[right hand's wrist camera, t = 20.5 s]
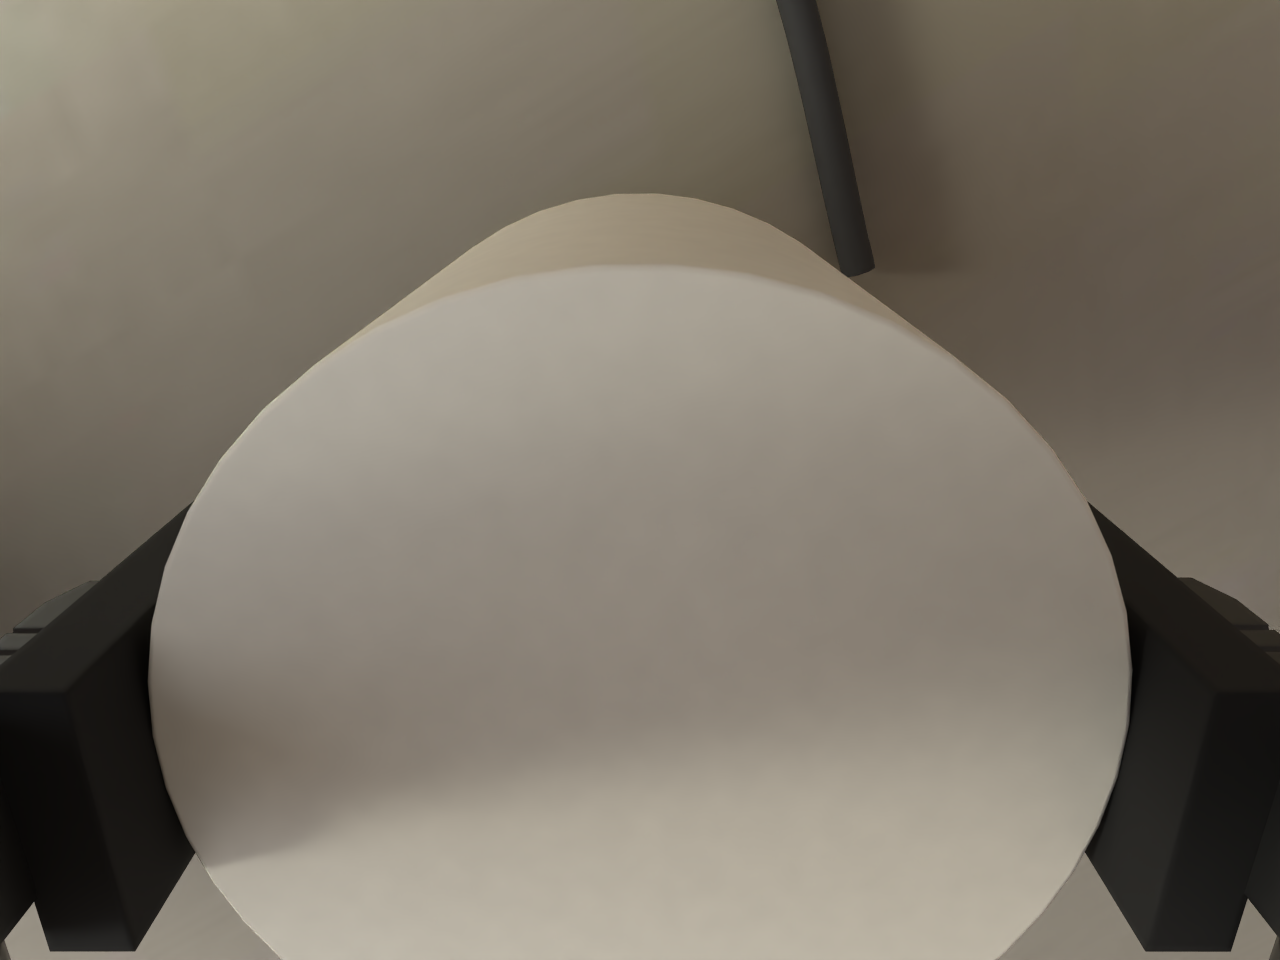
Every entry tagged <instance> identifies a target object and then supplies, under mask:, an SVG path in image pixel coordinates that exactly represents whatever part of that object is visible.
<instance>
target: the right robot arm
mask: <svg viewBox="0 0 1280 960" xmlns="http://www.w3.org/2000/svg"><path fill="white" fill-rule="evenodd" d="M776 1H777V4H778V8H779V12H780V15H781V19H782V22H783V26H784V30H785V33H786V37H787V41H788V45H789V49H790V52H791V56H792V60H793V64H794V69H795V73H796V77H797V81H798V85H799V89H800V94H801V98H802V102H803V107H804V111H805V115H806V120H807V124H808V129H809V133H810V138H811V143H812V147H813V152H814V156H815V161H816V165H817V170H818V174H819V179H820V184H821V188H822V193H823V197H824V201H825V206H826V210H827V215H828V219H829V223H830V228H831V232H832V236H833V240H834V245H835V249H836V253H837V257H838V261H839V265H840V269H841V273H842V274H844V275H845V276H846V277H851V276H856V275H860V274H863V273H866V272H868V271H870V270H872V269H874V268H875V263H874V259H873V255H872V251H871V246H870V242H869V238H868V233H867V229H866V224H865V220H864V215H863V211H862V206H861V202H860V197H859V192H858V188H857V183H856V178H855V173H854V168H853V164H852V159H851V154H850V149H849V144H848V139H847V134H846V130H845V125H844V120H843V115H842V110H841V106H840V101H839V96H838V92H837V87H836V82H835V78H834V73H833V69H832V64H831V60H830V56H829V52H828V47H827V43H826V39H825V35H824V31H823V27H822V23H821V19H820V15H819V11H818V7H817V3H816V0H776ZM194 501H195V500H194ZM194 501H193V502H194ZM193 502H192V503H191V504H190V505H189V506H187V507H186V508H185V509H184V510H183V511H181V512H180V513H179V514H178V515H177V516H176V517H174V518H173V519H172V520H171V521H170V522H168V523H167V524H166V525H165V526H164V527H163V528H161V529H160V530H159V531H158V532H157V533H155V534H154V535H153V536H152V537H151V538H150V539H148V540H147V541H146V542H145V543H144V544H142V545H141V546H140V547H139V548H138V549H137V550H135V551H134V552H133V553H132V554H131V555H130V556H128V557H127V558H126V559H125V560H124V561H122V562H121V563H120V564H119V565H118V566H117V567H115V568H114V569H113V570H112V571H111V572H109V573H108V574H107V575H106V576H105V577H104V578H102V579H101V580H100V581H89V582H87V583H85V584H82V585H80V586H78V587H76V588H74V589H72V590H70V591H68V592H66V593H64V594H62V595H60V596H58V597H56V598H54V599H52V600H50V601H47V602H45V603H44V604H43V605H42V606H40V607H39V608H38V609H37V610H35V611H34V612H33V613H32V614H30V615H29V616H28V617H27V618H25V619H24V620H23V621H22V622H20V623H19V624H18V625H17V626H15V627H14V628H13V633H7V634H6V635H4V636H3V637H2V638H1V639H0V960H11V959H10V956H9V953H8V950H7V947H6V944H5V941H4V939H5V938H6V937H7V936H8V934H9V933H10V932H11V930H12V929H13V928H14V927H15V925H16V924H17V923H18V921H19V920H20V919H21V918H22V916H23V915H24V914H25V912H26V911H27V910H28V909H29V907H30V906H31V905H32V903H33V902H35V906H36V909H37V912H38V915H39V918H40V921H41V924H42V928H43V931H44V934H45V937H46V940H47V943H48V946H49V950H50V951H136V949H137V947H138V946H139V944H140V942H141V941H142V939H143V937H144V936H145V934H146V933H147V931H148V929H149V928H150V926H151V924H152V923H153V921H154V919H155V918H156V916H157V915H158V913H159V911H160V910H161V908H162V906H163V905H164V903H165V901H166V900H167V898H168V896H169V895H170V893H171V892H172V890H173V888H174V887H175V885H176V883H177V882H178V880H179V878H180V877H181V875H182V874H183V872H184V870H185V869H186V867H187V865H188V864H189V862H190V860H191V859H192V857H193V855H194V854H195V851H194V849H193V847H192V845H191V844H190V842H189V840H188V839H187V837H186V835H185V833H184V830H183V828H182V825H181V823H180V821H179V818H178V816H177V813H176V811H175V808H174V806H173V804H172V801H171V799H170V796H169V794H168V792H167V789H166V786H165V783H164V779H163V775H162V771H161V767H160V763H159V759H158V755H157V751H156V747H155V743H154V739H153V733H152V723H151V712H150V701H149V690H148V670H149V655H150V640H151V626H152V620H153V616H154V612H155V607H156V603H157V599H158V594H159V590H160V586H161V581H162V577H163V573H164V569H165V565H166V563H167V561H168V558H169V556H170V553H171V551H172V549H173V546H174V544H175V541H176V539H177V536H178V534H179V532H180V529H181V527H182V524H183V522H184V519H185V517H186V515H187V512H188V510H189V509H190V507H191V506H192V504H193ZM1088 505H1089V507H1090V509H1091V511H1092V513H1093V516H1094V518H1095V520H1096V522H1097V524H1098V527H1099V529H1100V531H1101V533H1102V536H1103V538H1104V540H1105V542H1106V544H1107V547H1108V549H1109V551H1110V553H1111V555H1112V559H1113V563H1114V567H1115V570H1116V574H1117V578H1118V582H1119V585H1120V589H1121V593H1122V597H1123V600H1124V604H1125V608H1126V612H1127V621H1128V631H1129V641H1130V651H1131V661H1132V685H1131V702H1130V718H1129V727H1128V732H1127V736H1126V741H1125V746H1124V750H1123V755H1122V759H1121V764H1120V768H1119V773H1118V777H1117V780H1116V782H1115V785H1114V788H1113V790H1112V793H1111V796H1110V798H1109V801H1108V803H1107V806H1106V809H1105V811H1104V814H1103V817H1102V819H1101V822H1100V824H1099V827H1098V829H1097V830H1096V832H1095V834H1094V836H1093V838H1092V839H1091V841H1090V843H1089V845H1088V847H1087V848H1086V850H1085V853H1086V855H1087V856H1088V858H1089V859H1090V861H1091V863H1092V864H1093V866H1094V868H1095V869H1096V871H1097V873H1098V874H1099V876H1100V877H1101V879H1102V881H1103V882H1104V884H1105V886H1106V887H1107V889H1108V891H1109V892H1110V894H1111V896H1112V897H1113V899H1114V900H1115V902H1116V904H1117V905H1118V907H1119V909H1120V910H1121V912H1122V914H1123V915H1124V917H1125V918H1126V920H1127V922H1128V923H1129V925H1130V927H1131V928H1132V930H1133V932H1134V933H1135V935H1136V936H1137V938H1138V940H1139V941H1140V943H1141V945H1142V946H1143V948H1144V950H1145V951H1198V952H1231V949H1232V946H1233V943H1234V940H1235V936H1236V933H1237V930H1238V927H1239V924H1240V921H1241V917H1242V914H1243V911H1244V908H1245V905H1246V902H1247V899H1249V900H1250V901H1251V903H1252V904H1253V905H1254V907H1255V908H1256V909H1257V910H1258V912H1259V913H1260V914H1261V915H1262V917H1263V918H1264V919H1265V921H1266V922H1267V923H1268V924H1269V926H1270V927H1271V928H1272V929H1273V931H1274V932H1275V933H1276V935H1277V938H1276V941H1275V944H1274V947H1273V950H1272V953H1271V956H1270V959H1269V960H1280V634H1279V633H1278V632H1277V631H1275V630H1269V628H1268V624H1267V623H1265V622H1264V621H1263V620H1262V619H1260V618H1259V617H1258V616H1257V615H1255V614H1254V613H1253V612H1252V611H1250V610H1249V609H1248V608H1247V607H1245V606H1244V605H1243V604H1242V603H1240V602H1239V601H1238V600H1237V599H1235V598H1232V597H1230V596H1228V595H1226V594H1224V593H1222V592H1220V591H1218V590H1216V589H1214V588H1212V587H1210V586H1208V585H1205V584H1203V583H1201V582H1199V581H1197V580H1195V579H1193V578H1177V577H1176V576H1175V575H1174V574H1172V573H1171V572H1170V571H1169V570H1168V569H1166V568H1165V567H1164V566H1163V565H1162V564H1161V563H1159V562H1158V561H1157V560H1156V559H1155V558H1153V557H1152V556H1151V555H1150V554H1149V553H1148V552H1146V551H1145V550H1144V549H1143V548H1142V547H1140V546H1139V545H1138V544H1137V543H1136V542H1135V541H1133V540H1132V539H1131V538H1130V537H1129V536H1127V535H1126V534H1125V533H1124V532H1123V531H1122V530H1120V529H1119V528H1118V527H1117V526H1116V525H1114V524H1113V523H1112V522H1111V521H1110V520H1109V519H1107V518H1106V517H1105V516H1104V515H1103V514H1101V513H1100V512H1099V511H1098V510H1097V509H1096V508H1094V507H1093V506H1092V505H1091V504H1090V503H1088Z"/></svg>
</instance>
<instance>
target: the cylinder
mask: <svg viewBox="0 0 1280 960" xmlns="http://www.w3.org/2000/svg"><path fill="white" fill-rule="evenodd" d="M1131 685H1132V661H1131V651H1130V641H1129V631H1128V621H1127V612H1126V608H1125V604H1124V600H1123V597H1122V593H1121V589H1120V585H1119V582H1118V578H1117V574H1116V570H1115V567H1114V563H1113V559H1112V555H1111V553H1110V551H1109V549H1108V547H1107V544H1106V542H1105V540H1104V538H1103V536H1102V533H1101V531H1100V529H1099V527H1098V524H1097V522H1096V520H1095V518H1094V516H1093V513H1092V511H1091V509H1090V507H1089V505H1088V502H1087V500H1086V499H1085V497H1084V496H1083V494H1082V493H1081V491H1080V490H1079V488H1078V487H1077V485H1076V484H1075V482H1074V481H1073V479H1072V478H1071V476H1070V475H1069V473H1068V472H1067V470H1066V468H1065V467H1064V465H1063V464H1062V462H1061V461H1060V459H1059V458H1058V456H1057V455H1056V453H1055V452H1054V450H1053V449H1052V448H1051V446H1050V445H1049V444H1048V443H1047V442H1046V441H1045V440H1044V439H1043V438H1042V437H1041V435H1040V434H1039V433H1038V432H1037V431H1036V430H1035V429H1034V428H1033V427H1032V426H1031V425H1030V423H1029V422H1028V421H1027V420H1026V419H1025V418H1024V417H1023V416H1022V415H1021V414H1020V412H1019V411H1018V410H1017V409H1016V408H1015V407H1014V406H1013V405H1012V404H1011V403H1010V402H1009V400H1008V399H1006V398H1005V397H1004V396H1003V395H1001V394H1000V393H999V392H998V391H997V390H995V389H994V388H993V387H992V386H990V385H989V384H988V383H987V382H985V381H984V380H983V379H982V378H980V377H979V376H978V375H977V374H975V373H974V372H973V371H972V370H971V369H969V368H968V367H967V366H966V365H964V364H963V363H962V362H961V361H959V360H958V359H957V358H956V357H954V356H953V355H952V354H950V353H949V352H948V351H946V350H945V349H944V348H942V347H941V346H940V345H938V344H937V343H936V342H934V341H933V340H932V339H930V338H929V337H927V336H926V335H925V334H923V333H922V332H921V331H919V330H918V329H917V328H915V327H914V326H913V325H911V324H910V323H909V322H907V321H906V320H905V319H903V318H902V317H900V316H899V315H898V314H896V313H895V312H894V311H892V310H891V309H890V308H888V307H887V306H886V305H884V304H883V303H882V302H880V301H879V300H878V299H876V298H875V297H873V296H872V295H871V294H869V293H868V292H867V291H865V290H864V289H863V288H861V287H860V286H859V285H857V284H856V283H855V282H853V281H852V280H851V279H849V278H848V277H846V276H845V275H844V274H842V273H841V272H840V271H838V270H837V269H836V268H834V267H833V266H832V265H830V264H829V263H828V262H826V261H825V260H824V259H822V258H821V257H819V256H818V255H817V254H815V253H814V252H813V251H811V250H810V249H809V248H807V247H806V246H805V245H803V244H802V243H800V242H799V241H797V240H795V239H794V238H792V237H790V236H789V235H787V234H785V233H784V232H782V231H780V230H779V229H777V228H775V227H774V226H772V225H770V224H769V223H766V222H764V221H762V220H759V219H757V218H754V217H752V216H750V215H747V214H745V213H743V212H740V211H738V210H735V209H733V208H729V207H726V206H722V205H718V204H714V203H711V202H707V201H703V200H699V199H696V198H689V197H681V196H673V195H664V194H656V193H649V194H613V195H606V196H599V197H593V198H586V199H580V200H575V201H572V202H568V203H565V204H562V205H558V206H555V207H551V208H548V209H545V210H541V211H539V212H536V213H534V214H532V215H530V216H528V217H525V218H523V219H521V220H519V221H517V222H514V223H512V224H510V225H508V226H506V227H504V228H502V229H501V230H499V231H497V232H496V233H494V234H493V235H491V236H489V237H488V238H486V239H485V240H483V241H482V242H480V243H478V244H477V245H475V246H474V247H472V248H471V249H469V250H468V251H467V252H465V253H464V254H463V255H461V256H460V257H459V258H457V259H456V260H455V261H453V262H452V263H451V264H449V265H448V266H447V267H445V268H444V269H443V270H441V271H440V272H439V273H437V274H436V275H435V276H433V277H432V278H430V279H429V280H428V281H426V282H425V283H424V284H422V285H421V286H420V287H418V288H417V289H416V290H414V291H413V292H412V293H410V294H409V295H408V296H406V297H405V298H404V299H402V300H401V301H400V302H398V303H397V304H395V305H394V306H393V307H391V308H390V309H389V310H387V311H386V312H385V313H383V314H382V315H381V316H379V317H378V318H377V319H375V320H374V321H373V322H371V323H370V324H369V325H367V326H366V327H365V328H363V329H362V330H361V331H359V332H358V333H356V334H355V335H354V336H352V337H351V338H350V339H348V340H347V341H346V342H344V343H343V344H342V345H340V346H339V347H338V348H336V349H335V350H334V351H332V352H331V353H330V354H328V355H327V356H326V357H324V358H323V359H321V360H320V361H319V362H317V363H316V364H315V365H314V366H312V367H311V368H310V369H309V370H308V371H307V372H305V373H304V374H303V375H302V376H301V377H300V378H298V379H297V380H296V381H295V382H294V383H293V384H291V385H290V386H289V387H288V388H287V389H286V390H285V391H283V392H282V393H281V394H280V395H279V396H278V397H276V398H275V399H274V400H273V401H272V402H271V403H269V404H268V405H267V406H266V407H265V408H264V409H263V410H262V411H261V412H260V413H259V414H258V415H257V417H256V418H255V419H254V420H253V421H252V422H251V424H250V425H249V426H248V427H247V428H246V429H245V431H244V432H243V433H242V434H241V435H240V436H239V438H238V439H237V440H236V441H235V442H234V443H233V445H232V446H231V447H230V448H229V449H228V450H227V452H226V453H225V454H224V455H223V456H222V457H221V459H220V460H219V462H218V463H217V465H216V467H215V468H214V470H213V471H212V473H211V475H210V476H209V478H208V480H207V481H206V483H205V484H204V486H203V488H202V489H201V491H200V493H199V494H198V496H197V497H196V499H195V501H194V502H193V504H192V506H191V507H190V509H189V510H188V512H187V515H186V517H185V519H184V522H183V524H182V527H181V529H180V532H179V534H178V536H177V539H176V541H175V544H174V546H173V549H172V551H171V553H170V556H169V558H168V561H167V563H166V565H165V569H164V573H163V577H162V581H161V586H160V590H159V594H158V599H157V603H156V607H155V612H154V616H153V620H152V626H151V640H150V655H149V670H148V690H149V701H150V712H151V723H152V733H153V739H154V743H155V747H156V751H157V755H158V759H159V763H160V767H161V771H162V775H163V779H164V783H165V786H166V789H167V792H168V794H169V796H170V799H171V801H172V804H173V806H174V808H175V811H176V813H177V816H178V818H179V821H180V823H181V825H182V828H183V830H184V833H185V835H186V837H187V839H188V840H189V842H190V844H191V845H192V847H193V849H194V851H195V852H196V854H197V856H198V857H199V859H200V861H201V862H202V864H203V866H204V868H205V869H206V871H207V873H208V874H209V876H210V878H211V879H212V881H213V882H214V884H215V885H216V886H217V887H218V889H219V890H220V891H221V893H222V894H223V895H224V896H225V898H226V899H227V900H228V902H229V903H230V904H231V905H232V907H233V908H234V909H235V911H236V912H237V913H238V914H239V916H240V917H241V918H242V920H243V921H244V922H245V923H246V924H247V925H248V926H249V927H250V928H251V929H252V930H253V931H254V932H255V933H256V934H257V935H258V936H259V937H260V938H261V939H262V940H263V941H264V942H265V943H266V944H267V945H268V946H269V947H270V948H271V949H272V950H273V951H274V952H275V953H276V954H277V955H278V956H279V957H280V958H281V959H282V960H997V959H998V958H999V957H1001V956H1002V955H1003V954H1004V953H1005V952H1007V951H1008V950H1009V949H1010V947H1011V946H1012V945H1013V944H1014V943H1015V942H1016V941H1017V940H1018V939H1019V938H1020V937H1021V936H1022V935H1023V934H1024V933H1025V932H1026V931H1027V930H1028V929H1029V928H1030V926H1031V925H1032V924H1033V923H1034V922H1035V921H1036V920H1037V919H1038V918H1039V917H1040V916H1041V915H1042V914H1043V913H1044V911H1045V910H1046V908H1047V907H1048V906H1049V904H1050V903H1051V902H1052V900H1053V899H1054V898H1055V896H1056V895H1057V894H1058V892H1059V891H1060V890H1061V888H1062V887H1063V885H1064V884H1065V883H1066V881H1067V880H1068V879H1069V877H1070V876H1071V875H1072V873H1073V872H1074V870H1075V868H1076V867H1077V865H1078V863H1079V861H1080V859H1081V858H1082V856H1083V854H1084V852H1085V850H1086V848H1087V847H1088V845H1089V843H1090V841H1091V839H1092V838H1093V836H1094V834H1095V832H1096V830H1097V829H1098V827H1099V824H1100V822H1101V819H1102V817H1103V814H1104V811H1105V809H1106V806H1107V803H1108V801H1109V798H1110V796H1111V793H1112V790H1113V788H1114V785H1115V782H1116V780H1117V777H1118V773H1119V768H1120V764H1121V759H1122V755H1123V750H1124V746H1125V741H1126V736H1127V732H1128V727H1129V718H1130V702H1131Z"/></svg>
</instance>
